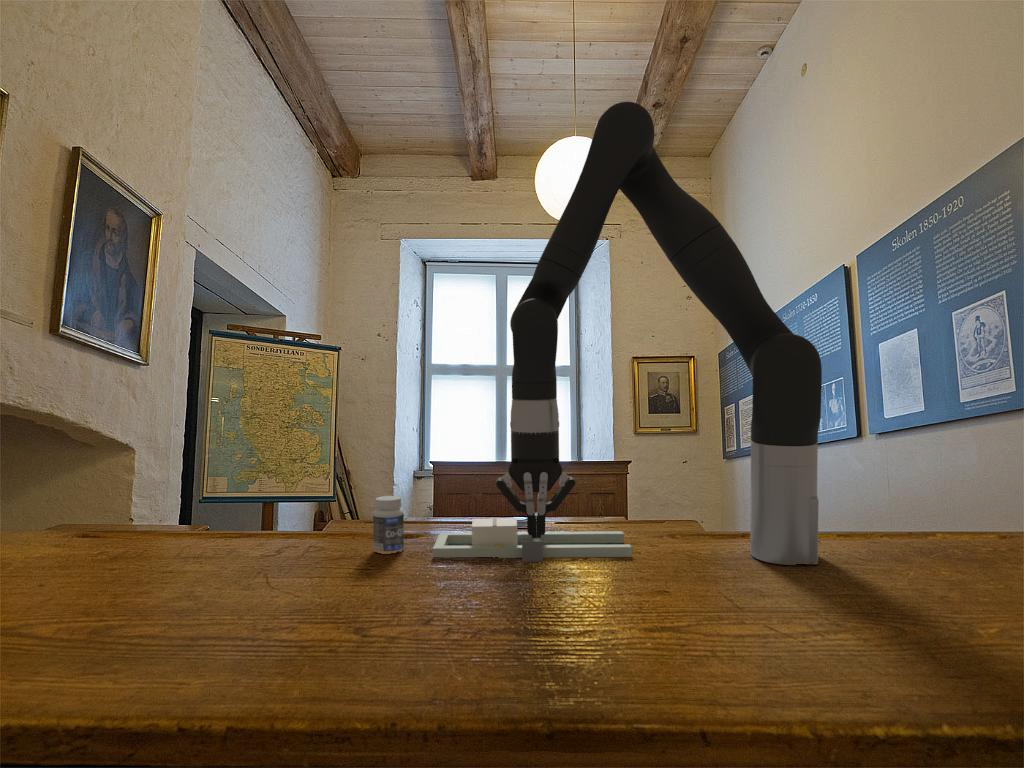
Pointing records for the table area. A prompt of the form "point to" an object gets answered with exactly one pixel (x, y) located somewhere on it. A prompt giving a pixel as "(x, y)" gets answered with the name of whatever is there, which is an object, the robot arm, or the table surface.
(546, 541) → the slotted beam
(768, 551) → the robot arm
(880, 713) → the table surface
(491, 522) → the block
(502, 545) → the balance mark
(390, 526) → the pill bottle
